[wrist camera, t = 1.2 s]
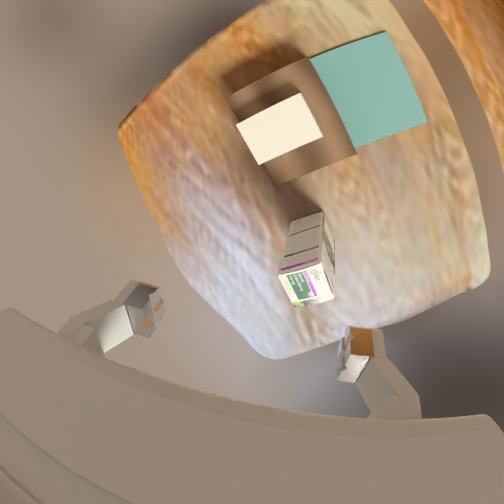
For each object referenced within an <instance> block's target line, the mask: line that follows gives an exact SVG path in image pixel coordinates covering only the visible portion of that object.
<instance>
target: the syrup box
mask: <svg viewBox="0 0 504 504" xmlns="http://www.w3.org/2000/svg"><path fill="white" fill-rule="evenodd" d="M277 275H278V277H279V279H280V281H281V283H282V284H283V286H284V288H285V290H286V292H287V294H288V296H289V298H290V300H291V302H292V304H293V306H294V307H302V306H308V305H313V304H317V303H321V302H324V301H327V300H331V299H334V297H335V243H334V237H333V235H332V232H331V230H330V227H329V225H328V222H327V220H326V217H325V215H324V212H323V211H322V212H319V213H316V214H312V215H309V216H306V217H303V218H300V219H297V220H294V221H292V222H291V224H290V228H289V232H288V236H287V240H286V244H285V248H284V251H283V255H282V259H281V262H280V266H279V270H278V274H277Z"/></svg>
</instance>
